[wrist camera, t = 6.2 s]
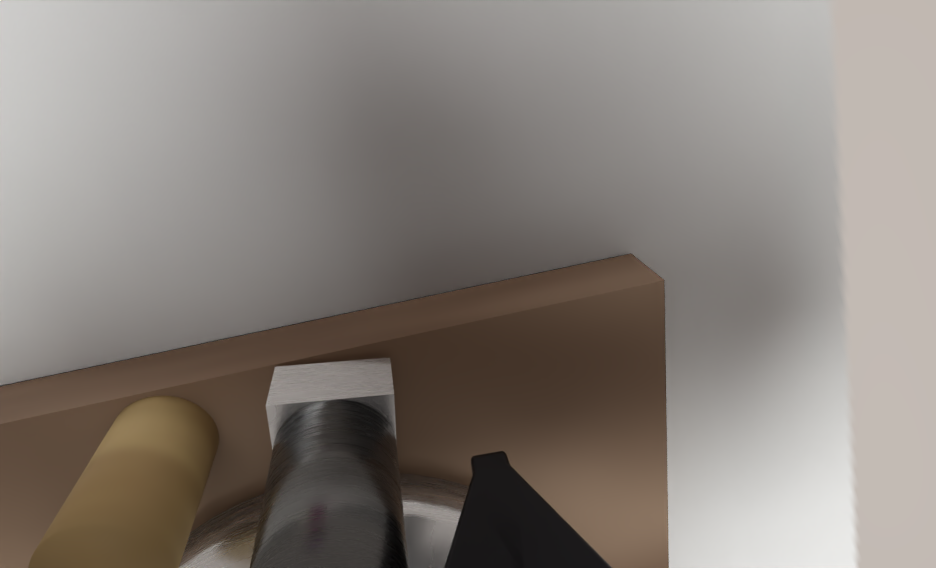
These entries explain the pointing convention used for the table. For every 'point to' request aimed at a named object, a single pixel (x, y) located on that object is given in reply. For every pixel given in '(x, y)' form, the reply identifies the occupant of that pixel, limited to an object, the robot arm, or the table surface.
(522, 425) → the base plate
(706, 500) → the table surface
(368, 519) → the flange
